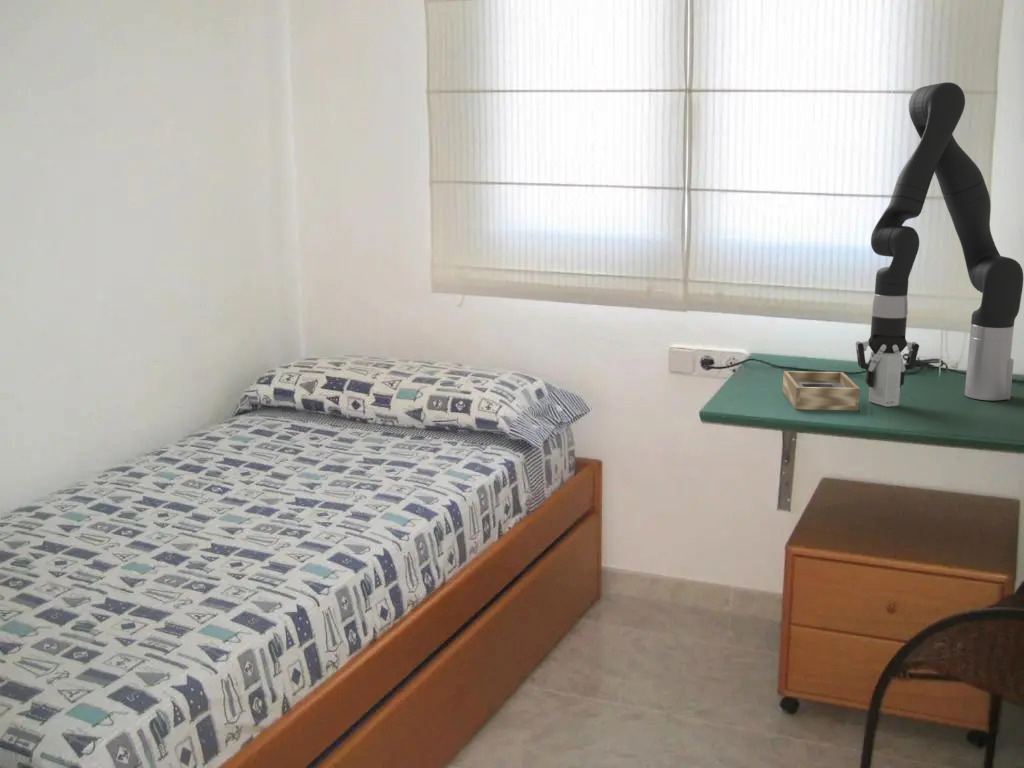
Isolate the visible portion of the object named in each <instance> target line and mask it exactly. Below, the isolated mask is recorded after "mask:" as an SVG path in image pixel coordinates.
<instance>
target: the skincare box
mask: <svg viewBox="0 0 1024 768" xmlns="http://www.w3.org/2000/svg"><path fill="white" fill-rule="evenodd" d="M872 353H873V357H875V354H874V352H873V351H872V350H871V351H870V355H871V354H872ZM902 355H903V354H902V353H900V354H894V353H883V354H882V356H881V358H880V360H879V362H878V363H877V364H876V366H875V368H874V370H873V371H874V384H873V387H869V386H868V401H869V402H870V403H873V404H876V405H879V406H882V407H887V408H888V407H889V408H890V407H898V406H900V394H901V393H900V391H901V388H900V376H901V358H902V359H903V357H902ZM877 358H878V357H877Z"/></svg>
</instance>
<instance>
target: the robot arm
mask: <svg viewBox="0 0 1024 768" xmlns="http://www.w3.org/2000/svg"><path fill="white" fill-rule="evenodd" d="M908 101H909V102H908V113H909V116H910V119H911V122H912V124H913V126H914V129H915V130H916V133H917V134H918V137H919V139H920V140H919V142H918V145H917V146H916V148H915V150H914V151H913V153H912V154H911V156H910V157H909V159H908V160H907V161H906V163H905V164H904V165H903V167H902V169H901V170H900V173H899V174H898V177H897V180H896V182H895V186H894V189H893V191H892V196H891V198H890V202H889V204H888V206H887V207H886V208H885V210H884V211H883V213H882V214H881V217H880V218H879V219H878V221H877V223H876V225H875V227H874V228H873V230H872V233H871V236H870V246H871V249H872V250H873V252H874V253H875V254H876V255H878V256H883V257H891V258H892V259H891V262H890V265H889V266H886V267H884V266H883V267H882V268H879V269H877V271H876V275H875V284H874V285H875V287H874V296H873V302H872V309H871V310H872V312H871V324H870V337H869V338H868V340H867V341H856V342H855V350H856V358H857V365H858V367H860V368H861V369H862V370H863V369H864V370H865V383H866V385H867V386H868V388H869V387H873V384H874V371H873V370H874V368H875V366H876V364H877V363H878V362H879V360H880V358H881V356H882V354H883V353H894V354H902V353H903V350H904V349H905V348H906V350H907V351H908V352H907V353H908V354H907V356H906V357H907V358H906V361H905V363H904V360H903V357H902V358H901V376H900V389H901V388H902V386H903V385H904V384H905V373H906V371H908V370H913V369H914V367H915V363H916V361H917V357H918V352H919V350H920V349H919V348H920V345H919V344H918V343H917V342H915V341H913V342H910V341H908V340H907V339H906V333H907V331H906V330H907V320H908V313H909V310H908V306H909V305H908V302H909V301H908V293H909V292H908V291H909V290H908V289H909V278H910V275H911V272H912V269H913V266H914V264H915V261H916V257H917V255H918V252H919V249H920V248H919V247H920V237H919V234H918V232H917V230H916V229H915V228H913V227H911V226H908V225H904V223H905V222H906V221H908V220H911V219H914V218H917V217H919V216H920V214H921V213H922V210H923V207H924V204H925V201H926V198H927V195H928V192H929V189H930V186H931V182H932V180H933V176H934V175H935V176H936V179H937V183H938V185H939V187H940V191H941V194H942V197H943V200H944V202H945V205H946V208H947V210H948V213H949V216H950V218H951V221H952V224H953V227H954V229H955V232H956V234H957V237H958V240H959V243H960V246H961V249H962V253H963V257H964V261H965V266H966V270H967V275H968V277H969V281H970V282H971V284H972V287H973V288H974V289H975V290H976V291H977V292H980V293H981V294H982V297H981V303H980V306H979V308H978V309H976V310H974V311H973V312H972V314H971V321H970V329H969V330H970V331H969V341H968V342H969V343H968V344H969V345H968V351H967V352H968V353H967V354H968V355H967V364H966V365H967V366H966V375H965V376H966V377H965V385H964V396H966V397H967V398H971V399H975V400H981V401H1005V400H1011V391H1012V381H1013V373H1014V372H1013V371H1014V364H1015V363H1014V359H1013V358H1012V347H1013V338H1014V329H1015V328H1014V327H1015V321H1016V318H1017V317H1018V314H1019V312H1020V308H1021V301H1022V292H1023V286H1024V271H1023V268H1022V266H1021V264H1020V263H1019V262H1018V261H1017V260H1015V259H1014V258H1011V257H1007V256H1002V255H1001V254H1000V252H999V250H998V249H997V246H996V243H995V241H994V237H993V235H992V231H991V213H992V212H991V209H992V206H991V203H992V202H991V196H990V192H989V190H988V187H987V184H986V181H985V179H984V176H983V174H982V171H981V169H980V168H979V167H978V165H977V164H976V163H975V162H974V161H973V159H972V158H971V157H970V156H969V154H967V153H966V152H965V151H964V150H963V148H962V147H961V146H960V145H959V143H957V140H956V138H955V137H954V134H953V133H954V131H955V130H956V128H957V125H958V124H959V121H960V120H961V117H962V115H963V113H964V110H965V106H966V97H965V93H964V90H963V89H962V87H960V86H959V85H958V84H957V83H955V82H950V81H949V82H941V83H940V82H939V83H934V84H930V85H926V86H925V85H924V86H921V87H919V88H917V89H916V90H914V91H913V93H911V96H910V97H909V100H908ZM868 347H869V348H870V349H871V351H873V352H874V354H875V357H873V353H872V354H871V353H870V356H869V358H868V359H869V360H868V361H867V363H866V356H865V352H866V351H867V349H868ZM877 357H878V358H877Z"/></svg>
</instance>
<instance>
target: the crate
mask: <svg viewBox="0 0 1024 768" xmlns="http://www.w3.org/2000/svg"><path fill="white" fill-rule="evenodd" d="M782 393H783V395H784V396H785V397H786V398H787V400H788V401H789V403H790V404H791V405H792V407H793V408H794V410H816V411H817V410H820V411H860V410H859V408H860V393H861V388H860V387H859V386H858V385H857V384H856V383H855V382H854V381H853V380H852V379H851V378H850V377H849V376H848V375H846V373H845V372H843V371H842V372H841V371H799V370H797V371H796V370H795V371H790V370H787V371H786V370H784V371H783V377H782Z"/></svg>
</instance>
